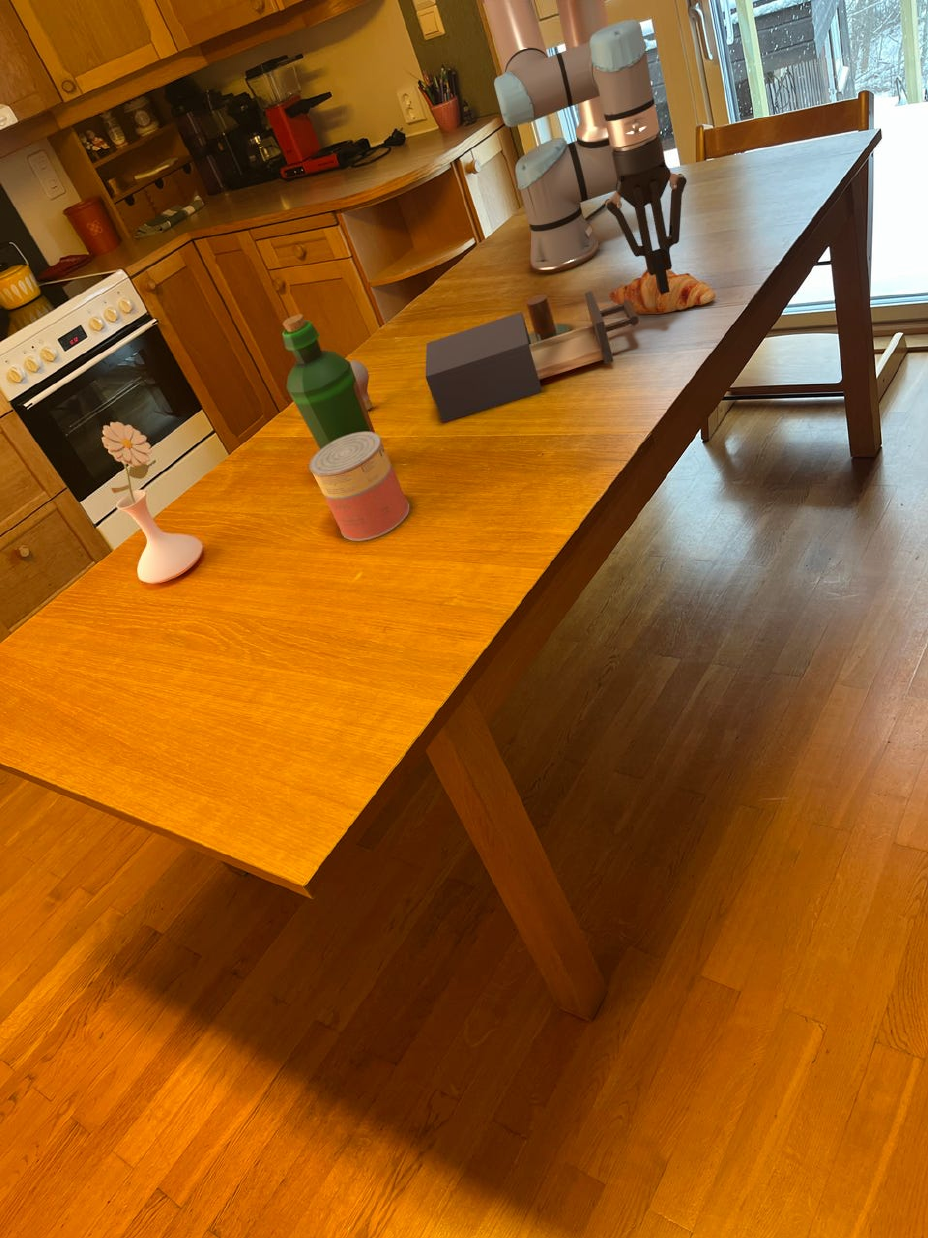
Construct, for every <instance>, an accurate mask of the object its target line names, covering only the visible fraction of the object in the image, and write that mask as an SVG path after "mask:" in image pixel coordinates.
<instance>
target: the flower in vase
mask: <svg viewBox="0 0 928 1238" xmlns="http://www.w3.org/2000/svg"><path fill="white" fill-rule="evenodd" d="M109 423H110V424H109V425H107V424H105V425H103V429H102V434H103V436H102V437H101V441H102V443H103V447H104V448H105V449H107V450H108V451H107V452H108V453H109V454H110V455H112V456H113V457H114V460H115V461H116V462H119V463H120V462H121V463H122V464H123V466H124V467H123V468H124V469H125V470H124V471H125V474H126V478H127V484H126V485H123V486H120V487H111V489H110V490H111V492H112V493H113V494H118V493H120V492H124V491H127V490H129V493H127V494H126V495H124V496H122V497H121V498H120V499H119V500H118V501H117V502H116V505H115V508H116V509H118V510H121V511H123V512H125V513H127V514H128V515H129V516H130V517H131V518H133V520H134V521H135V522H136V524H138V525H139V527H140V528H141V530H142V532H143V533H144V535H145V537H146V545H145V548H144V550H143V551H142V553H141V557H140V558H139V561H138V564H137V577H138V579H139V581H142V582H145V583H147V584H151V585H152V584H161V583H164V582H168V581H170V580H173V579H175V578H177V577H179V576H181V575H182V574H184V573H185V572H187V571H189V569H191V568H192V567H193V566H194V565H195V564H196V563H197V562H198V561H199V559H200V558H201V556H202V553H203V548H204V547H203V543H202V541H201V540H200V539H199V538H197V537H196V536H193V535H190V534H183V533H169V532H165V531H163V530H162V529H161V528H160V527H159V526H158V524H157V523H156V522H155V520H154V519H153V517H152V514H151V513H150V510H149V509H148V506H147V505H148V504H147V499H146V498H147V491H146V490H145V489H137V490H136V489H135V490H134V491H133V490H132V489H133V488H132V483H131V478H133V479H139V480H142V479H144V478H145V477H146V475H147V474H148V472H149V466H150V465H148V464H147V462H148V463H149V462H150V461H151V459H150V456H149V455H150V454H152V449H150V448H151V447H152V445H151V444H150V443H149V442H147V439H148V438H147V436H145V435H144V434H142V433H141V431H140V430H139V429H138V430H137V429H135V428H134V427H133V426H132V425H131V424H126V425H125V424H123V423H122V422H119V421H115V422H113V421H110V422H109ZM148 454H149V455H148ZM127 465H128V466H129V470H128V466H127ZM130 477H131V478H130Z"/></svg>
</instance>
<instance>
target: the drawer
mask: <svg viewBox="0 0 928 1238" xmlns="http://www.w3.org/2000/svg"><path fill="white" fill-rule="evenodd" d="M584 297H585V302H586V306H587V310H588V315H589V318H590V322H591V324H589V325H585V326H583V327H580V328H576V329H573V330H570V332H567V333H564V334H561V335H557V336H554V337H551V338H548V339H545V340H542V341H539V342H536V343H533V344H530V345H529V347H530V351H531V354H532V358H533V361H534V364H535V368H536V371H537V375H538V378H539V380H540V381H541V380H543V379H545V378H548V377H552V376H555V375H559V374H562V373H565V372H568V371H571V370H574V369H577V368H580V367H583V366H586V365H590V364H593V363H597V362H600V361H603V362H604V364H605V365H606V364H609V363H612V362H614V358H613V354H612V349H611V345H610V341H609V337H608V333H609V332H612V331H615V330H619V329H621V328H624V327H628V326H632V327H634V326H637V325H638V324H639V323H640V318H639V315H638V313H636V312H635V310H634V308H633V305H632V303H631V302H630V301H629V300H625V301H624V302H623V303H622V304H620V305H618V304H617V305H614V306H610V307H608V308H605V309H602V310H600V308H599V305H598V302H597V300H596V297H595V295H594V292H593V291H592V290H591V291H587V292H584ZM623 311H624V313H625V315H626V318H624V319H620V320H617V321H615V322H611V323H607V324H605V321H604V318H605V317H608V316H611V315H614V314H617V313H620V312H623Z"/></svg>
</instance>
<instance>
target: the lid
mask: <svg viewBox="0 0 928 1238" xmlns="http://www.w3.org/2000/svg"><path fill="white" fill-rule="evenodd" d="M525 304H526V308H527V311H528V316H529V318H530V322H531V325H532V329H533V331H532V332H530V333H528V334H529V338H530V341H531V344H533V343H536V342H539V341H542V340H545V339H548V338H551V337H554V336H557V335H561V334H564V333H567V332H570V331H571V330H570V327H569V326H568V324H565V323H555V321H554V317H553V313H552V310H551V306H550V302H549V298H548V296H547V294H537V295H535V296H532V297H530V298H528V299H527V300H526V302H525Z"/></svg>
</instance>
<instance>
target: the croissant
mask: <svg viewBox="0 0 928 1238" xmlns="http://www.w3.org/2000/svg"><path fill="white" fill-rule="evenodd" d="M666 274H667V279H668V284H669V290H670V292H668V293H665V294H662V295H661V294H660V292H659V290H658V287H657V282H656V277H655V275H652V276H651V275H650V274H649V272H648V271H647V269H646V270H645V271H644V272H643V273H642V275H641V276H640V277H636V278H633V280H632V281H631V282H630V284H624V285H621V286H620V287H618V289H614V290H612V291H610V292H609V298H610V300H611V301H612V302H613V304H617V305H620V304H622V303H623V302H624V301H625V300H629V301H630V302H631V303H632V305H633V308H634V310H635V312H636V314H637V315H638V314H640V315H661V314H662V315H663V314H666V313H671V312H675V311H678V310H680V311H681V310H685V309H687V308H692V307H693V306H695V305H697V306H703V305H706V304H708V303H710V302H712V301H713V300H714V299H715V298H716V291H715V290H714V289H713V288H712V287H711V286H710V285H708V283H706V282H704V281H699V280H698V279H697V278H696V277H694V276H692V275H691V274H690V273H688V272H685V273H681V274H680V273H679V274H676V273H675V272H674V271H673V270H672V269H670V270H667V271H666Z"/></svg>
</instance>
